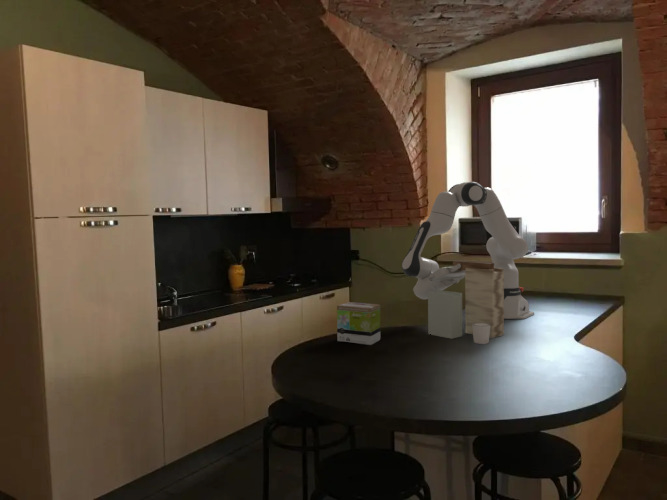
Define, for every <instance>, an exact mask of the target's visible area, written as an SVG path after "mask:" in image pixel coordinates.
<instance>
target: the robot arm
mask: <svg viewBox="0 0 667 500" xmlns="http://www.w3.org/2000/svg"><path fill="white" fill-rule="evenodd" d="M469 206H473V207H475V208H476V210H477V212H478V213H477V214H478V215H479V218H480V220H481V222H482V224H483V227H484V229H485V230H486V232H488V234H490V235H491V237H489V238H488V240H487V242H486V245H485V246H486V247H485V248H486V250H487V252H488V253H489V255H490V259H491V263H494V268H502V269H503V271H504V320H505V319H506V320H507V319H508V320H510V319H511V320H516V319H518V320H525V319H527V318H529V317H531V316H534V315H535V312H534V311H531V310H530V305H529V301H528V300H526V299H525V298H524V297H523V296H522V292H524V287H521V286H520V284H519V283H520V282H519V278H520V277H519V275H520V274H519V270H518V268H517V266H516V263H515V261H514V260H518V259H521V258H524V256H525V257H526V255H527V253H528V251H529V245H528V242H527V241H526V239H524V237H522V236H521V234H519V233H518V232H517V230H516V229H515V228H514V226H513V225H512V223H511V222H510V221H509V218H508V216H507V215H506V212H505V210H504V208H503V205H502V203H501V200H500V199H499V197H498V196H497V194H496V193H495V191H494V189H492V188H491V187H483V186H482V185H481V184H480V183H479V182H475V181H468V182H467V181H465V182H462V183H461V182H460V183H457V184H455V185H452V186H451V187H450V188H449V190H448V191H441V192H439V193H438V194H437V196H436V198H435V200H434V201H433V205H432V208H431V211H430V214H429V216H428V218H427V220H426V221H424V222H422V223H421V224H420V226H419V228H418V229H417V232H416V233H415V235H414V238H413V240H412V243H411V245H410V247H409V249H408V252H407V253H406V255H405V256H404V258H403V259H402V262H401V268H402V271H403V274H405V276H407V277H411V278H417V282H416V283H415V285H414V287H413V289H412V290H413V293H414V295H415V296H416V297H418V299H421V300H428V292H436V293H437V290H442V291H445V290H446V289H447V288H449V287H451V286H452V285H456V284H458V283H459V282H460V281H461V280H463V279H465V271H466V270H458V269H460V268H462V267H463V266H462V264H461V263H460V264H457V265H455V266H453V265H452V266H445V267H440V265H439V263H438V262H437V261H435V260H432V259H429V258H426V257H423V256H421V254H422V253H423V250H424V247H425V245H426V243H427V241H428V240H429V238H431V237H433V236H438V235H439V236H440V235H443V234H446V233H448V232H449V231H450V230H451V229H452V226H453V224H454V221H455V216H456V214H457V213H456V212H457V210H458V209H459V208H460V207H469Z"/></svg>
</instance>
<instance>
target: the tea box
mask: <svg viewBox="0 0 667 500" xmlns="http://www.w3.org/2000/svg"><path fill="white" fill-rule="evenodd" d="M336 331H337V332H336V336H337V342H345V343H354V344H359V345H367V346H373V345H374V344H376V343H377V342H379V341H380V340H381V304H377V303H365V302H354V301H353V302H352V301H347V302H344V303H340V304H339V305H336Z"/></svg>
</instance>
